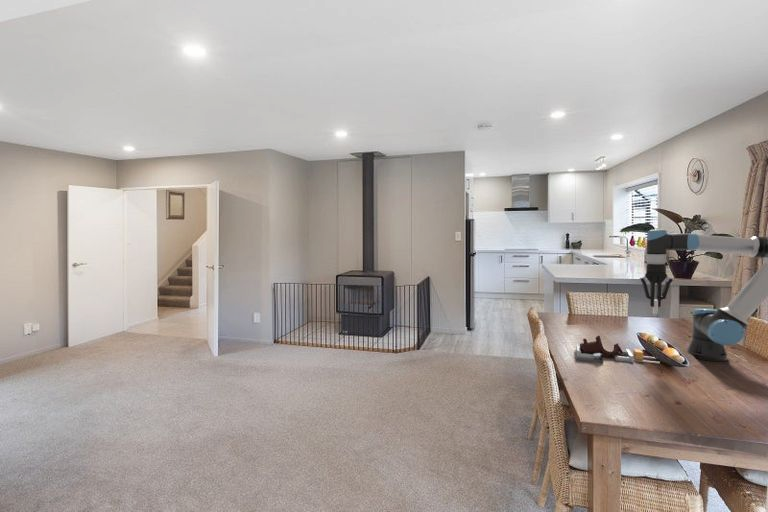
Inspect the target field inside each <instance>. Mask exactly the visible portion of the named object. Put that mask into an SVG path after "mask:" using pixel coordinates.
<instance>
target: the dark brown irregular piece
mask: <svg viewBox="0 0 768 512" xmlns="http://www.w3.org/2000/svg"><path fill="white" fill-rule="evenodd" d="M582 340H583V342H582V343H579V345H580V349H581V352H582V353H589V354H596V353H600V355H601V356H604V357H606V358H608V357H615V356H623V355H622V354H623V351H624V350H623V349H621V346H620V344H619V343H615V344H613V349H612V350H613V351H608V350H606V348H604V347H603V343H602V339H601V336H600V335H597V336H595V341H590V342H588V340H587V338H583V339H582ZM619 352H620V353H619Z"/></svg>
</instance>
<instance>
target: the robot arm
mask: <svg viewBox="0 0 768 512" xmlns="http://www.w3.org/2000/svg"><path fill="white" fill-rule="evenodd" d="M667 251H699V252H710V253H720V254H721V253H722V254H731V255H732V254H733V255H744V256H745V255H746V256H748V257H749V258H755V259H756V258H757V259H762V260H763V262H764V263H763V264H762V266H760V268H759V269H758V270H756V272H755V273H754V274H753V276H752V277H751V278H750V279H749V280H748V281H747V282H746V283H745V285H744V286H743V287H742V288H741V289H740V290H739V291H738V292H737V294H736V295H735V296H734V297H733V298H732V300H731V301H730V302H729V303H728V304H727V305H726V306H725V307H720V308H718V309H714V308H713V309H712V308H695V309H693V311H692V312H693V313H692V331H691V332H692V333H691V334H692V335H691V340H690V343H689V345H688V347H687V348H686V353H688V354H690V355H691V356H693V358H695V359H698V360H704V361H709V362H725V361H728V353H727V350H726V347H725V346H733V345H736V344H738V343H740V342H741V341H742V340H743V339H744V336H745V329H746V328H747V327H748V326H749V323H748V319H749V318H750V317H751V316H752V315H753V313H754V312H756V310H757V309H758V308H760V305H762V303H763V302H764V301H766V299H767V298H768V236H754V235H753V236H752V237H748V238H747V237H733V236H725V235H724V236H720V235H710V234H709V235H708V234H705V235H704V234H697V233H689V232H688V233H681V232H680V233H679V232H678V233H677V232H668V231H667V230H666V229H650V230H647V233H646V265H645V266H646V269H645V270H646V272H645V274H644V276H642V277H639V280H640V282H641V284H642V288H643V291H644V294H645V295H644V296H645V298H647V299H649V301H650V302H649V304H650V305H649V306H650V307H652V314H653V315H658V314H659V308H661V306H662V305H661V303H662V302H661V301H663V300H666V298H667V295H668V292H669V289H670V285H671V283H672V282H673V278H671V277H669V276H668V274H667V264H666V263H667ZM647 280H648V282H649V285H650V287H648V285H647ZM663 282H664V286H663V289H662V285H663V284H662V283H663ZM655 287H656V289H655ZM648 288H649V289H650V290H649V289H648ZM649 291H650V292H649ZM655 291H656V292H655ZM655 293H656V296H655ZM655 297H656V299H655Z"/></svg>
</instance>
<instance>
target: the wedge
mask: <svg viewBox="0 0 768 512" xmlns="http://www.w3.org/2000/svg"><path fill="white" fill-rule="evenodd" d="M632 351H633V352H632V355H633V359H635V360H644V358H643V356H644V351H642V349H641V348H640V349H639V348H633V350H632Z"/></svg>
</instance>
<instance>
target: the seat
mask: <svg viewBox="0 0 768 512" xmlns="http://www.w3.org/2000/svg"><path fill="white" fill-rule="evenodd" d="M612 351H613V349H612ZM612 351H611V352H612ZM622 351H623V354H622V355H618V356H614V359H615V361H616V362H626V363H634V362H637V363H638V362H639V363H646V364H648V363H649V364H658V365H659V364H660V362H661V361H655V360H657V357H656V358H655V356H647V355H646V356H645V355H643V360H635V359H634V358H633V352H631V350H630V349H629V348H625V350H622ZM619 353H620V352H619ZM574 354H575V361H580V360H582V361H581V362H590V361H591V363H592V362H593V363H600V364H602V363H604V360H603V358H602V354H601V353H596V354H589V353H582V352H581V349H580V344H576V345H575V349H574ZM644 359H650V360H644ZM651 359H653V360H654V361H652V360H651Z"/></svg>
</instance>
